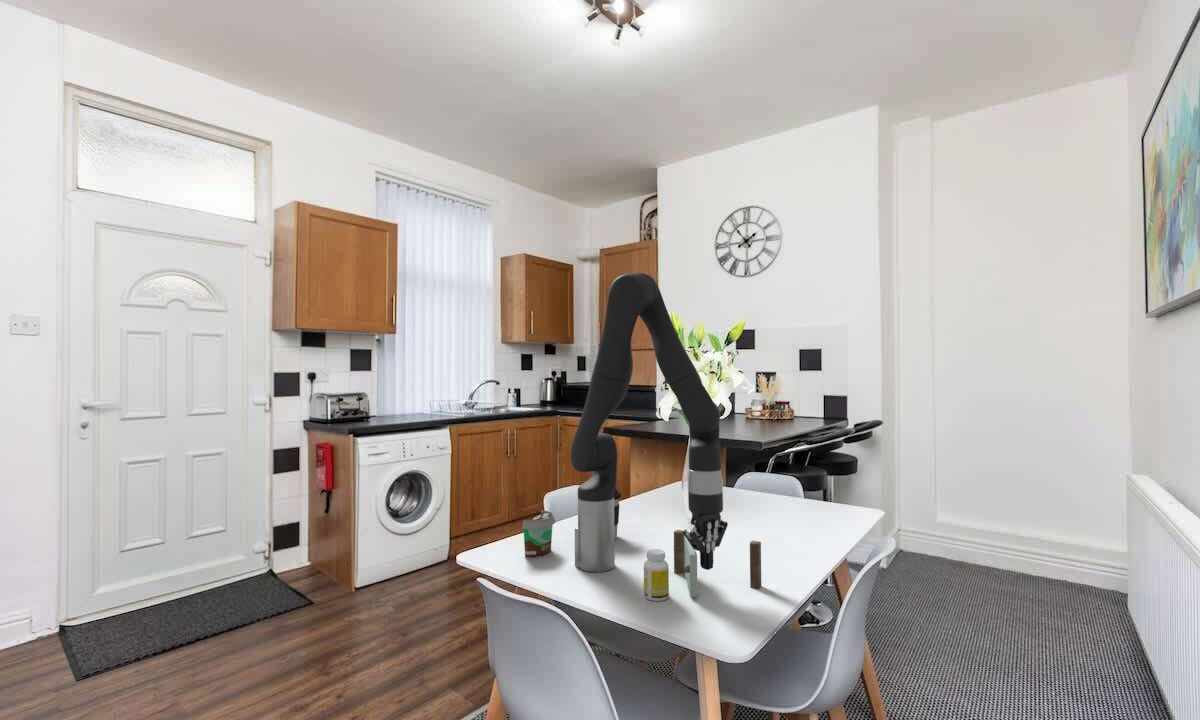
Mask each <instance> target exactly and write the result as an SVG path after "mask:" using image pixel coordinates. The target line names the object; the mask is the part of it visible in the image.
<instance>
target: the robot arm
mask: <svg viewBox="0 0 1200 720" xmlns="http://www.w3.org/2000/svg"><path fill="white" fill-rule="evenodd" d="M605 309H606V310H605V316H604V324H603V331H602V334H601V337H600V341H599V346H598V351H597V355H596V359H595V363H594V366H593V370H592V373H591V377H590V383H589V386H588V387H589V388H588V392H587V395H586V400H585V404H584V406H583V407H584V408H583V411H582V414H581V416H580V419H579V422H578V425H577V428H576V430H575V433H574V436H573V438H572V442H571V447H570V456H569V457H570V462H571V466H572V468H574V469H573V470H575V471H577V472H581V473H591V472H593V474H592V475H591V477H590V478H589V479H588V480H587V481H585V482H583V483H582V484H580V485H579V486H578V488H577V527H575V528H574V566H575V567H577V568H579V570H582V571H585V572H591V573H602V572H608V571H610V570H613V568H614V567H615V561H616V560H615V551H616V550H615V549H616V548H615V539H614V491H615V487H616V488H617V475H618V474H617V472H618V447H617V444H616V441H615V439H614V437H613V436H612V435H611V434H610V433H605V432H604V433H600V432H601V428H602V427H603V425H604V423H605V422H606V421H607V419H608V418H609V417H610V416H611V415H612V413H613V412H615V410H616V409H617V408H618V407H619V405H620V404H621V403H622V402H623V400H624V399H625V397H626V396H627V393H628V391H629V386H630V383H631V379H632V376H633V370H634V369H633V368H634V362H633V352H632V336H633V333H634V330H635V325H636V324H637V320H638V318H640V319H641V320H642V322H643V323H644V325H645V326H646V328H647V330H648V332H649V334H650V335H649V336H650V338H651V341H652V345H653V350H654V355H655V358H656V363H657V365H658V366H659V367H658V368H659V370H660V372H661V373H662V375H663V378H664V379H665V381H666V382H667V384H668V386H669V388H670V390H671V391H672V392H673V394H674V396H675V397H676V399H677V401H678V404H679V405H680V409H681V410H682V413H683V415H684V417H685V420H686V421H687V423H688V427H689V430H688V431H689V447H688V474H687V475H688V477H687V488H688V489H687V492H688V497H687V499H688V501H687V502H688V510H689V511H690V512H691V519H690V527H689V528H688V529H684V530H683V531H684V535H685V537H686V538H687V540H688V541H689V543H690V545H691V546H692V548H693V549H694V550H695V551H698V552H699V558H700V559H699V561H700V563H699V564H700V567H701V569H704V570H707V571H708V570H711V569H713V568H714V552H715V550H716V548H718V547H720V545H721V543H722V540H723V538H724V536H725V532H726V530H727V528H728V525H729V523H728V521H724V520H723V519H722V516H721V513H722V512H723V510H724V493H723V492H724V491H723V490H724V489H723V487H724V486H723V484H724V483H723V482H724V481H723V475H722V455H721V447H720V421H721V416H720V415H721V412H720V409H719V406H718V405H717V404H716V403H715V402H714V400H713V399H712V396H711V395H710V394H709V392H708V391H707V389H706V387H705V386H704V384H703V382H702V379H701V377H700V374H699V372H698V371H697V369H696V367H695V365H694V363H693V361H692V360H691V358H690V356H689V355H688V354H689V353H687V350H686V349H685V348H684V345H683V344H682V341H681V339H680V337H679V335H678V333H677V331H676V329H675V326H674V324H673V322H672V319H671V317H670V316H671V315H669V311H668V309H667V307H666V304H665V301H664V298H663V295H662V292H661V291H660V288H659V286H658V284H657V282H656V280H655V279H654V278H653V277H652V276H651V275H649V274H647V273H645V272H634V273H627V274H622V275H620V276H619V275H618V276H617V277H616V279H614V281H613V282H612V283H611V285H610V288H609V292H608V296H607V303H606V308H605Z"/></svg>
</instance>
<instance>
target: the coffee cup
mask: <svg viewBox="0 0 1200 720" xmlns="http://www.w3.org/2000/svg"><path fill="white" fill-rule="evenodd" d="M621 498H622V492H621V490H618V489H617V486H616V487H615V491H614V540H616V539H617V537H618V525H619V523H620V522H619V521H620V520H619V516H620V499H621Z"/></svg>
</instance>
